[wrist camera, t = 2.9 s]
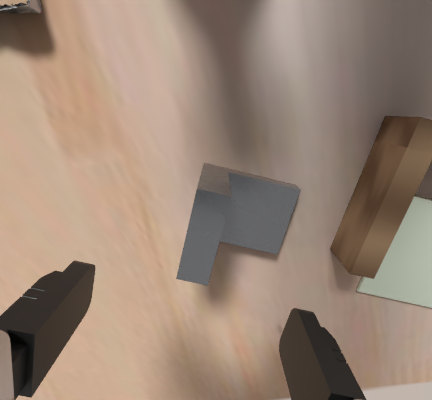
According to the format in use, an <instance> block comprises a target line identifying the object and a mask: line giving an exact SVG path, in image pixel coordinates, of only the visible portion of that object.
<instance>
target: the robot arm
mask: <svg viewBox="0 0 432 400" xmlns="http://www.w3.org/2000/svg"><path fill="white" fill-rule="evenodd" d="M94 275H95V265H93V264H88V263H84V262H79V261H73V262H72V263H71V264H70V265H69V266H68V267H67V268H66V269H65V270H64V271H63V272H59V271H54V272H52V273H50V274H47V275H45V276H43V277H41V278H40V279H39V280H38V281H37V282H36V283H35V284H34V285H33V286H32V287H31V289H28V290H27V291H26V292H25V293H24V294H23V296H22V297H20V298H19V299H18V300H17V301H16V302H15V303H14V304H13V305H11V306H10V307H9V308H8V309H7V310H6V311H5V312H4V313H3V314H2V315H1V316H0V400H15V399H16V398H17V397H18V395H20V396H26V397H32V396H33V394H34V393H35V391H36V390H37V388H38V387H39V385H40V383H41V382H42V380H43V379H44V377H45V376H46V374H47V373H48V371H49V370H50V368H51V367H52V365H53V364H54V362H55V360H56V359H57V357H58V356H59V354H60V353H61V351H62V350H63V348H64V347H65V345H66V344H67V342H68V341H69V339H70V337H71V336H72V334H73V333H74V331H75V330H76V328H77V327H78V325H79V324H80V322H81V321H82V319H83V317H84V316H85V314H86V312H87V310H88V308H89V305H90V302H91V298H92V291H93V283H94ZM279 352H280V357H281V361H282V365H283V369H284V372H285V376H286V380H287V384H288V388H289V392H290V396H291V400H366V398H365V396H364V394H363V392H362V391H361V389H360V387H359V385H358V383H357V381H356V379H355V377H354V375H353V373H352V371H351V369H350V367H349V365H348V364H347V363H346V360H345V358H344V356H343V354H342V353H341V350H340V348H339V346H338V344H337V342H336V340H335V339H334V338H333V336H332V335H331V334H330V333H329V332H328V331H327V330H326V329H325V328H323V327H321V326H320V324H319V322H318V320H317V318H316V316H315V314H314V313H313V312H311V311H306V310H301V309H296V308H294V309H292V311H291V313H290V315H289V318H288V320H287V323H286V325H285V328H284V330H283V333H282V336H281V338H280V344H279Z"/></svg>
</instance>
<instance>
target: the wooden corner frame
mask: <svg viewBox="0 0 432 400" xmlns="http://www.w3.org/2000/svg"><path fill="white" fill-rule="evenodd" d="M431 161H432V120H429V119H425V118H422V117H398V116H385V118H384V121H383V123H382V126H381V128H380V130H379V133H378V135H377V138H376V140H375V142H374V145H373V147H372V150H371V152H370V154H369V157H368V159H367V162H366V164H365V167H364V169H363V171H362V174H361V176H360V179H359V181H358V183H357V186H356V188H355V191H354V193H353V195H352V198H351V200H350V203H349V205H348V207H347V210H346V212H345V215H344V217H343V219H342V222H341V224H340V227H339V229H338V232H337V234H336V236H335V239H334V241H333V244H332V246H331V248H330V249H331V251H332V252H333V253H334V254H335V256H336V257H337V258H338V259H339V261H340V262H341V263H342V264H343V266H344V267H345V268H346V269H347V271H348V272H349V273H350V274H354V275H358V276H363V277H367V278H372V279H374V278H375V276H376V274H377V272H378V270H379V268H380V266H381V264H382V262H383V259H384V257H385V255H386V253H387V251H388V249H389V247H390V245H391V243H392V241H393V239H394V237H395V235H396V233H397V231H398V229H399V227H400V225H401V223H402V221H403V219H404V217H405V214H406V212H407V210H408V208H409V206H410V204H411V202H412V200H413V198H414V196H415V194H416V192H417V190H418V188H419V186H420V184H421V182H422V180H423V178H424V176H425V174H426V172H427V169H428V167H429V165H430V163H431Z"/></svg>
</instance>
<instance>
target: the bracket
mask: <svg viewBox="0 0 432 400" xmlns="http://www.w3.org/2000/svg"><path fill="white" fill-rule="evenodd" d="M299 193H300V189H299V188H298V187H297V186H296V185H294V184H289V183H285V182H281V181H277V180H273V179H269V178H265V177H261V176H256V175H252V174H248V173H244V172H240V171H236V170H232V169H228V168H223V167H219V166H215V165H211V164H207V163H204V165H203V169H202V172H201V176H200V180H199V183H198V187H197V191H196V196H195V200H194V204H193V209H192V213H191V217H190V222H189V226H188V230H187V235H186V239H185V243H184V248H183V252H182V256H181V261H180V265H179V269H178V274H177V278H176V279H180V280H184V281H189V282H194V283H198V284H203V285H208V282H209V278H210V275H211V271H212V267H213V264H214V260H215V256H216V253H217V249H218V245H219V242H224V243H228V244H233V245H237V246H242V247H246V248H251V249H255V250H260V251H264V252H269V253H273V254H278V253H279V250H280V247H281V244H282V241H283V238H284V236H285V233H286V230H287V227H288V224H289V221H290V219H291V216H292V213H293V210H294V207H295V204H296V201H297V199H298V196H299Z"/></svg>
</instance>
